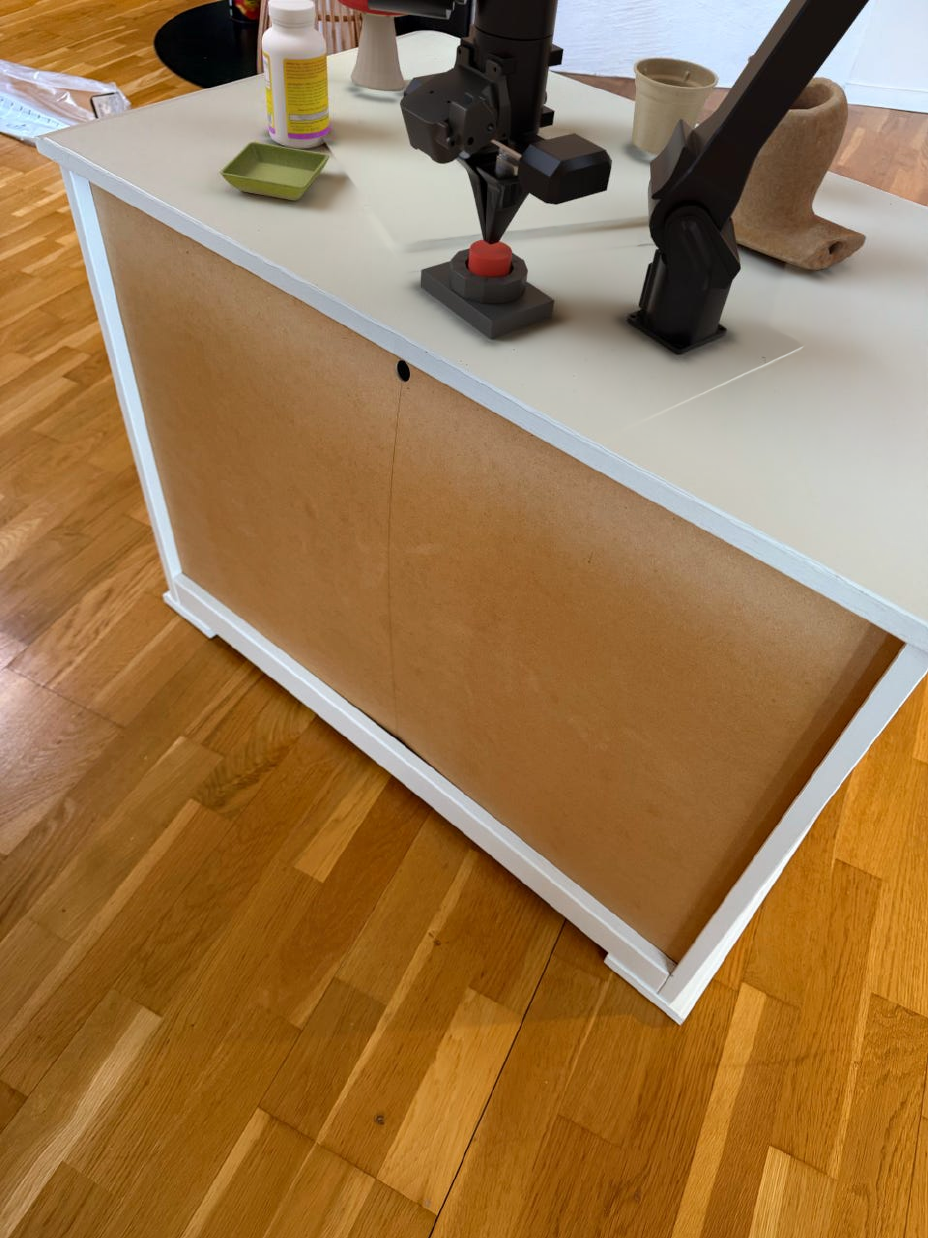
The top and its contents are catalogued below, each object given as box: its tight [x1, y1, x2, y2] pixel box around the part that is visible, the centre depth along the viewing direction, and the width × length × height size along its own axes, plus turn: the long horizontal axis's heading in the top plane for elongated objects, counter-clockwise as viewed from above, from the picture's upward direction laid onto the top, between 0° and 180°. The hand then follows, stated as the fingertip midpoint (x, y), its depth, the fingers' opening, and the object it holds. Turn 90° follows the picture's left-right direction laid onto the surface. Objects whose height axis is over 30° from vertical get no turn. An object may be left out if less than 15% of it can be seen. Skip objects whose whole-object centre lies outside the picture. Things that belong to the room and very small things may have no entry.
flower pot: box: [631, 56, 719, 155], centre depth 101 cm, size 9×9×9 cm
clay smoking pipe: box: [731, 76, 867, 271], centre depth 85 cm, size 15×12×15 cm
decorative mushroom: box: [337, 0, 409, 92], centre depth 104 cm, size 10×9×15 cm
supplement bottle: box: [261, 0, 330, 150], centre depth 94 cm, size 7×7×13 cm
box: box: [420, 247, 556, 340], centre depth 77 cm, size 10×7×4 cm
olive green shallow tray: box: [219, 141, 331, 201], centre depth 90 cm, size 9×9×2 cm
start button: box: [468, 239, 513, 278], centre depth 76 cm, size 4×4×2 cm
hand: (491, 241), depth 75 cm, fingers closed
